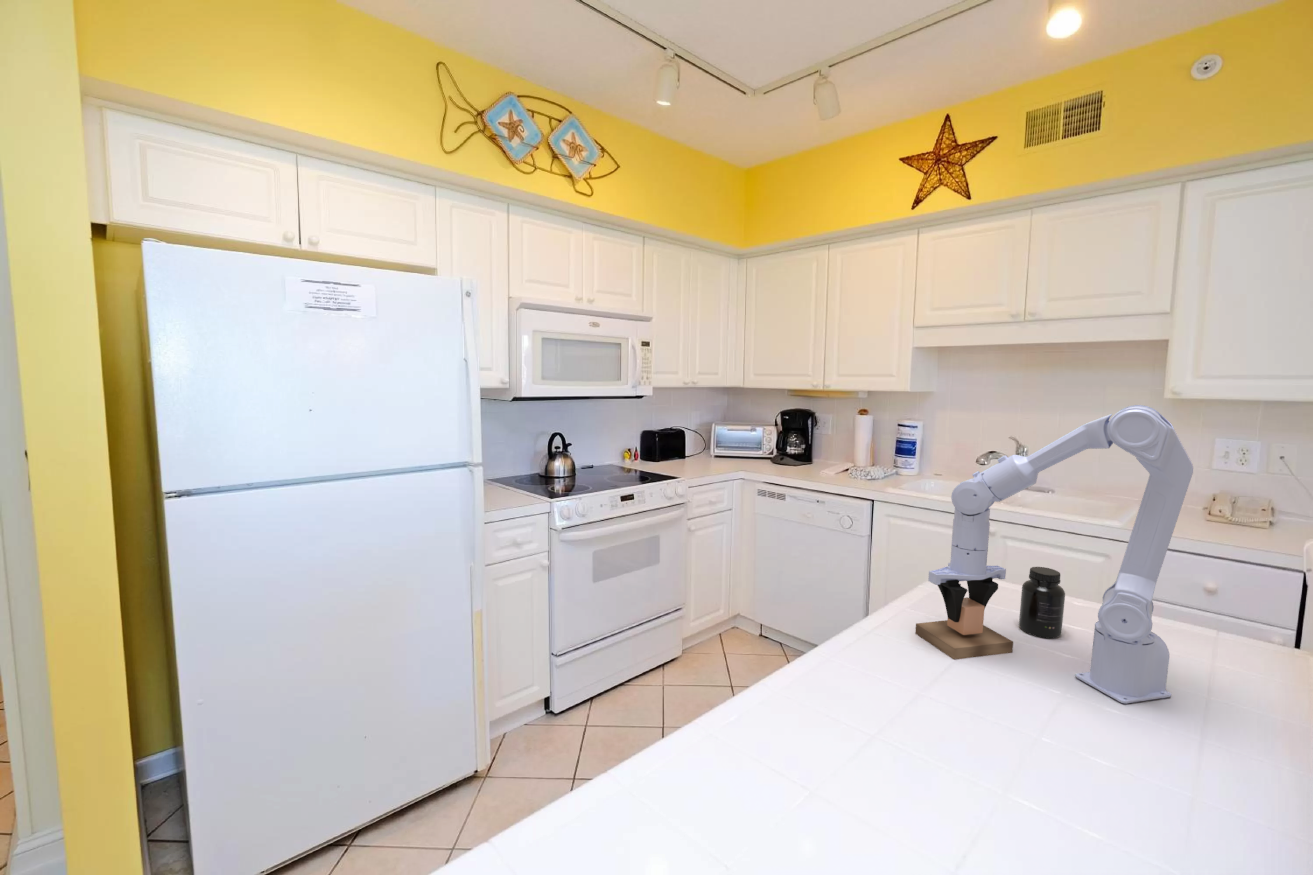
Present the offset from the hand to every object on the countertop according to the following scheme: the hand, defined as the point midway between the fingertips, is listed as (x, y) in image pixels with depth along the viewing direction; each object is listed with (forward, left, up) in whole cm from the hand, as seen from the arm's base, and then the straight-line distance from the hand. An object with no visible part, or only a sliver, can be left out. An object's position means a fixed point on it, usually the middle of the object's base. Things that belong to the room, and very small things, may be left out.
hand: (964, 618), depth 104 cm
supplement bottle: (-18, -1, -5) cm, 19 cm away
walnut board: (0, 0, -5) cm, 5 cm away
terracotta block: (0, 0, -2) cm, 2 cm away
